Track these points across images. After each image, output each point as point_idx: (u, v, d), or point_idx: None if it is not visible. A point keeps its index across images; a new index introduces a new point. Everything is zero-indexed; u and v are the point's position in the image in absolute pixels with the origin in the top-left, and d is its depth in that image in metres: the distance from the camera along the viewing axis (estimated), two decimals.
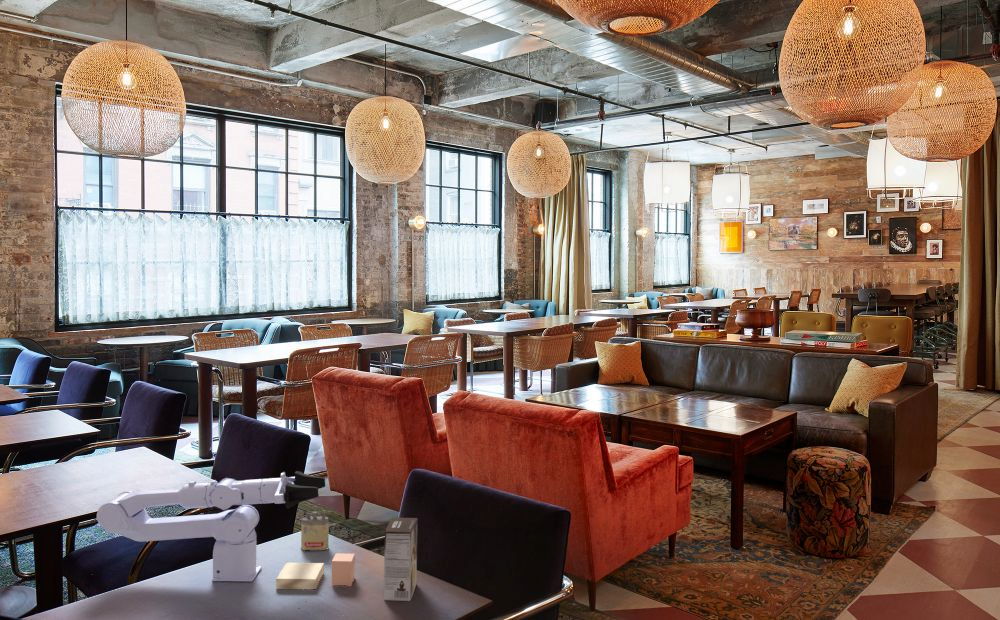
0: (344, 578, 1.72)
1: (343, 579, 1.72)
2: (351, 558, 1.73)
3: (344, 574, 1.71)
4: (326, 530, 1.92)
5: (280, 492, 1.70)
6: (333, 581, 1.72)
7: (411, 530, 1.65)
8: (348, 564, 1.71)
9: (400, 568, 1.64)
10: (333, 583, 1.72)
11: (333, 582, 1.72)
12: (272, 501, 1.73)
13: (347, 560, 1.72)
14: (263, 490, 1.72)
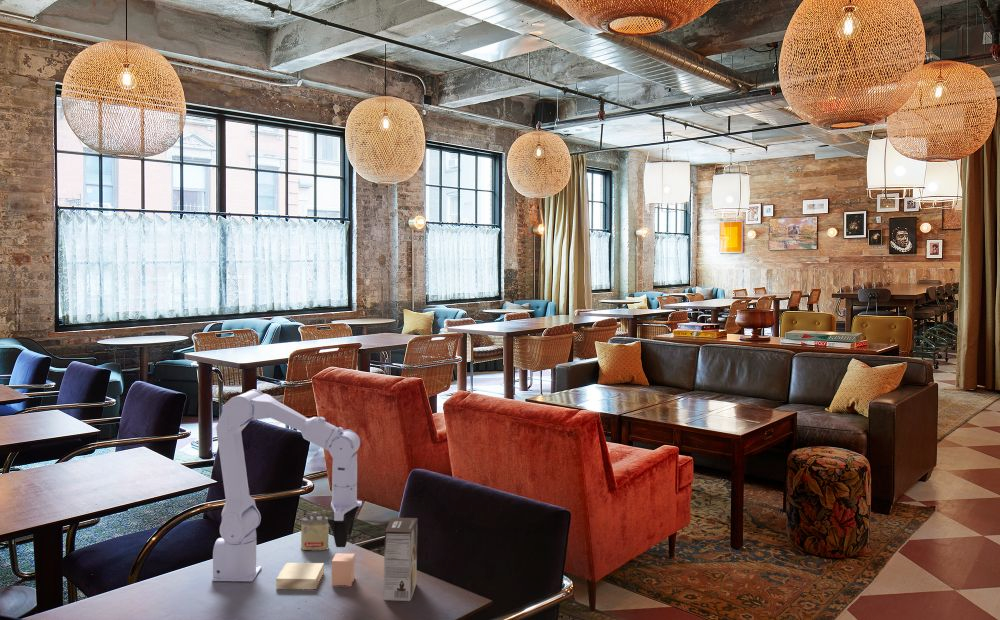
0: (344, 578, 1.72)
1: (343, 579, 1.72)
2: (351, 558, 1.73)
3: (344, 574, 1.71)
4: (326, 530, 1.92)
5: None
6: (333, 581, 1.72)
7: (411, 530, 1.65)
8: (348, 564, 1.71)
9: (400, 568, 1.64)
10: (333, 583, 1.72)
11: (333, 582, 1.72)
12: (334, 495, 1.71)
13: (347, 560, 1.72)
14: (346, 490, 1.70)
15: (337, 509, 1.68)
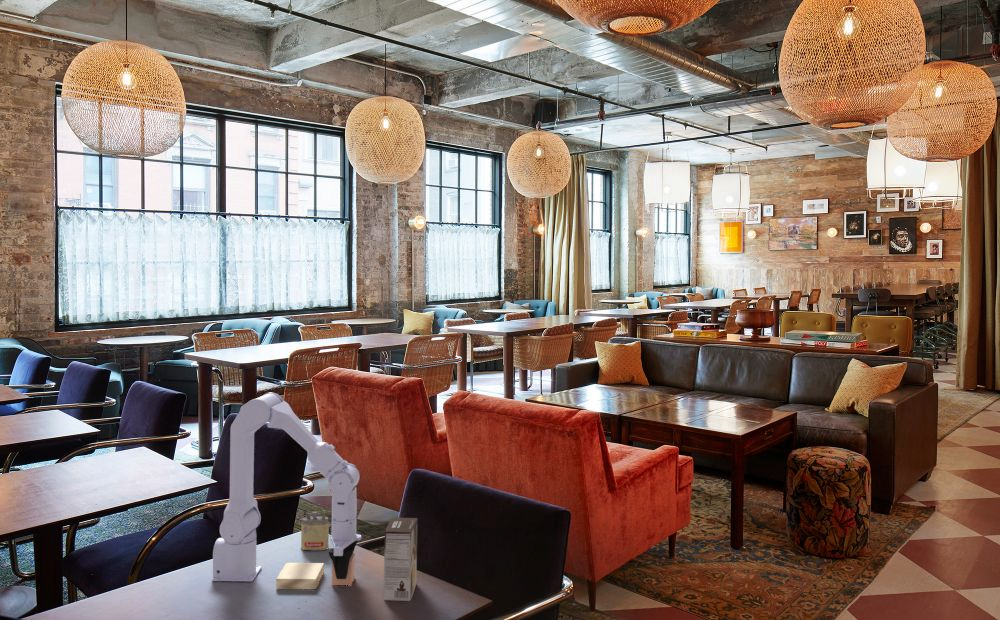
0: None
1: (343, 579, 1.72)
2: (351, 558, 1.73)
3: None
4: (326, 530, 1.92)
5: None
6: (333, 581, 1.71)
7: (411, 530, 1.65)
8: None
9: (400, 568, 1.64)
10: (333, 583, 1.72)
11: (333, 582, 1.72)
12: (333, 530, 1.71)
13: None
14: (346, 524, 1.70)
15: (337, 544, 1.68)
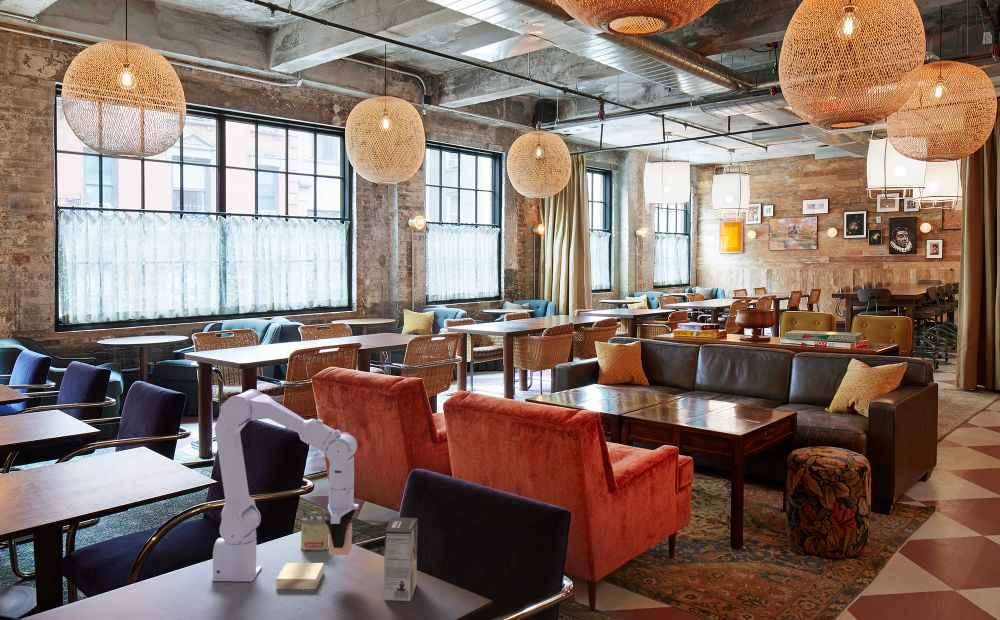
0: None
1: (340, 548, 1.71)
2: (348, 527, 1.72)
3: None
4: (326, 530, 1.92)
5: None
6: (330, 550, 1.71)
7: (411, 530, 1.65)
8: None
9: (400, 568, 1.64)
10: (330, 552, 1.71)
11: (330, 551, 1.71)
12: (330, 498, 1.71)
13: None
14: (343, 492, 1.70)
15: (334, 512, 1.68)
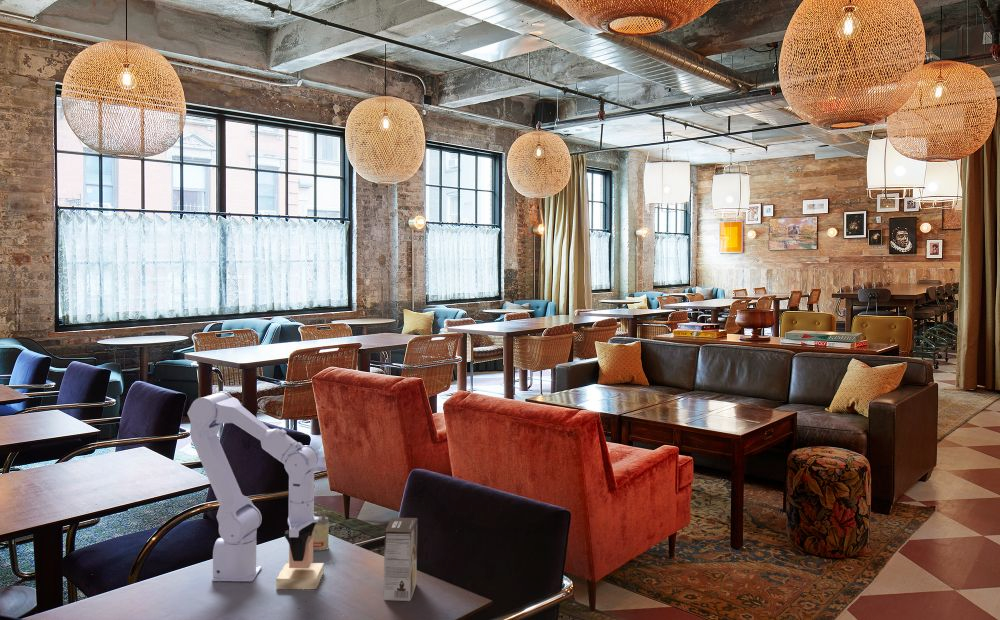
0: None
1: (300, 561, 1.71)
2: (309, 540, 1.72)
3: None
4: (326, 530, 1.92)
5: None
6: (290, 563, 1.71)
7: (411, 530, 1.65)
8: None
9: (400, 568, 1.64)
10: (290, 565, 1.71)
11: (290, 564, 1.71)
12: (290, 511, 1.70)
13: None
14: (302, 506, 1.70)
15: (293, 525, 1.68)
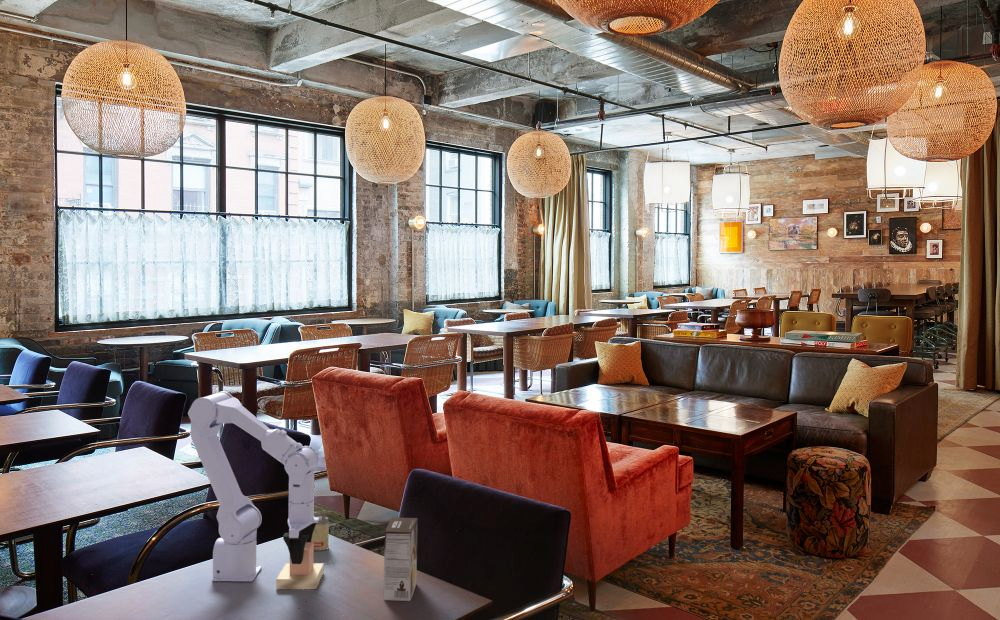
0: (302, 567, 1.71)
1: (301, 568, 1.71)
2: (309, 546, 1.73)
3: None
4: (326, 530, 1.92)
5: None
6: (291, 569, 1.71)
7: (411, 530, 1.65)
8: (306, 552, 1.71)
9: (400, 568, 1.64)
10: (291, 571, 1.71)
11: (291, 570, 1.71)
12: (290, 512, 1.70)
13: (305, 548, 1.71)
14: (302, 506, 1.70)
15: (293, 526, 1.68)
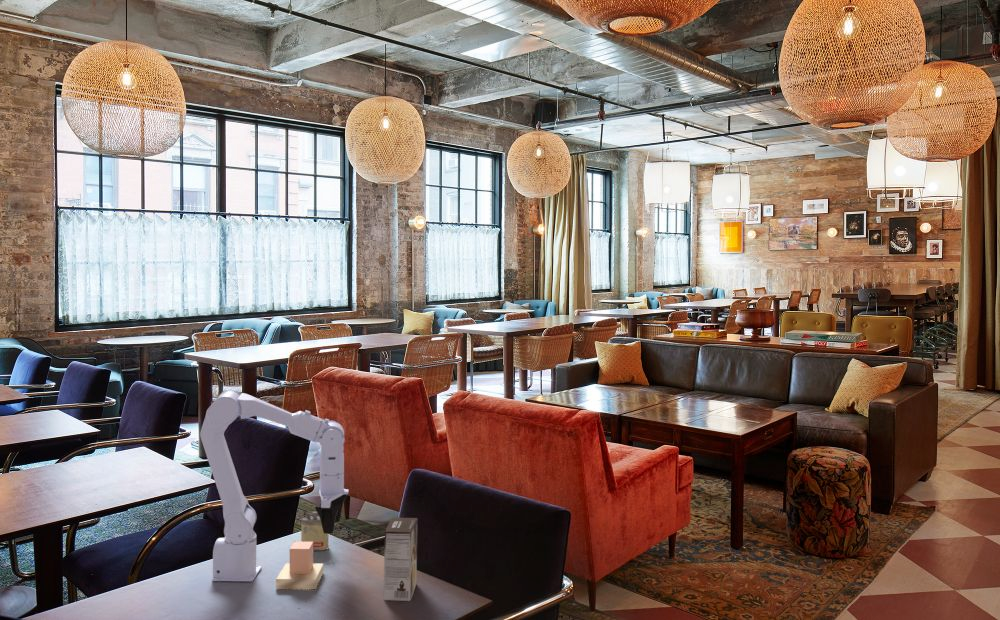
0: (302, 566, 1.72)
1: (301, 567, 1.72)
2: (309, 546, 1.73)
3: (301, 562, 1.71)
4: None
5: None
6: (291, 569, 1.71)
7: (411, 530, 1.65)
8: (306, 552, 1.71)
9: (400, 568, 1.64)
10: (291, 571, 1.72)
11: (291, 570, 1.71)
12: (321, 484, 1.77)
13: (305, 548, 1.72)
14: (333, 478, 1.76)
15: (324, 497, 1.75)
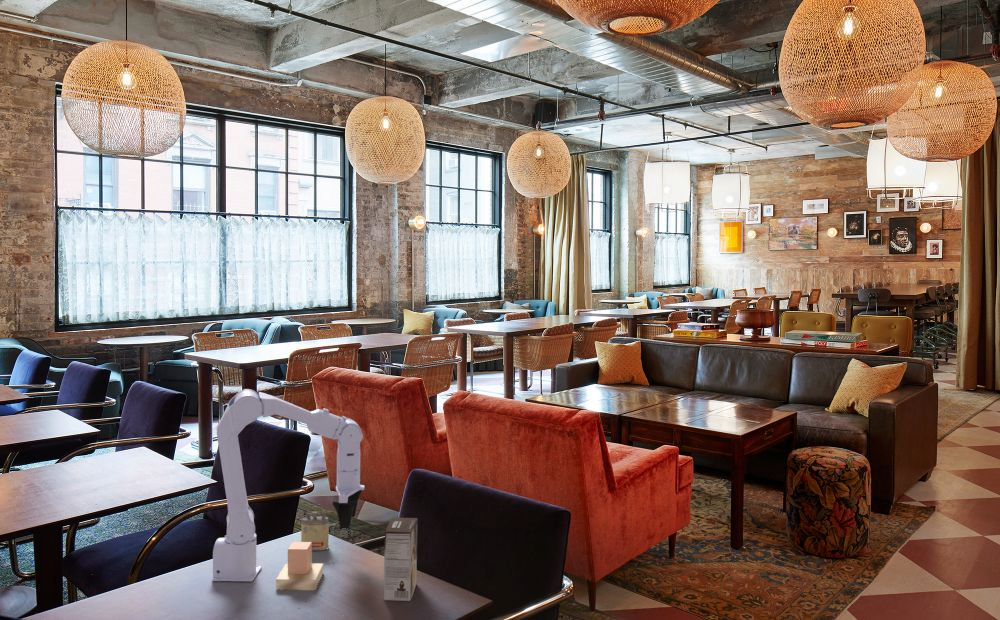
0: (300, 566, 1.71)
1: (299, 568, 1.71)
2: (307, 546, 1.73)
3: (300, 562, 1.71)
4: (326, 530, 1.92)
5: None
6: (289, 569, 1.71)
7: (411, 530, 1.65)
8: (304, 552, 1.71)
9: (400, 568, 1.64)
10: (289, 571, 1.71)
11: (289, 570, 1.71)
12: (338, 480, 1.81)
13: (303, 548, 1.71)
14: (350, 474, 1.81)
15: (341, 492, 1.79)
